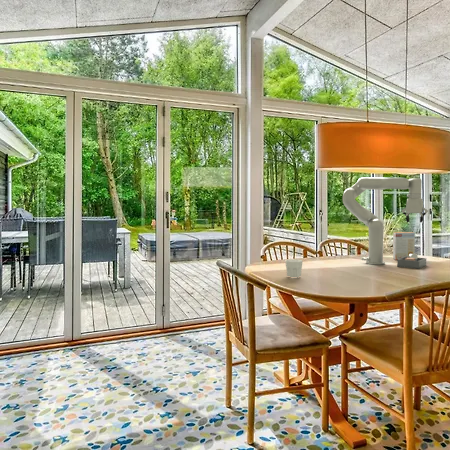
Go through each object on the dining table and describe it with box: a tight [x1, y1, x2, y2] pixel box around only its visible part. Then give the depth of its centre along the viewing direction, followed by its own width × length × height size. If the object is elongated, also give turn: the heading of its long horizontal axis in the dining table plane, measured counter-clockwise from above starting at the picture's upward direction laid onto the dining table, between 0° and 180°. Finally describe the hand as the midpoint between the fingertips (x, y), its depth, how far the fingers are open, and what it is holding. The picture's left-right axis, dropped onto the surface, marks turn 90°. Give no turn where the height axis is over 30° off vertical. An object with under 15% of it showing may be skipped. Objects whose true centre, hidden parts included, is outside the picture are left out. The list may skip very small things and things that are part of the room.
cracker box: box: [392, 231, 416, 261], centre depth 285 cm, size 14×6×21 cm, turn 84°
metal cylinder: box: [409, 253, 419, 261], centre depth 259 cm, size 5×5×7 cm
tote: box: [396, 257, 427, 270], centre depth 256 cm, size 18×14×5 cm
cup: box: [284, 258, 303, 277], centre depth 221 cm, size 10×10×10 cm
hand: (414, 222), depth 257 cm, fingers open, 7 cm apart
